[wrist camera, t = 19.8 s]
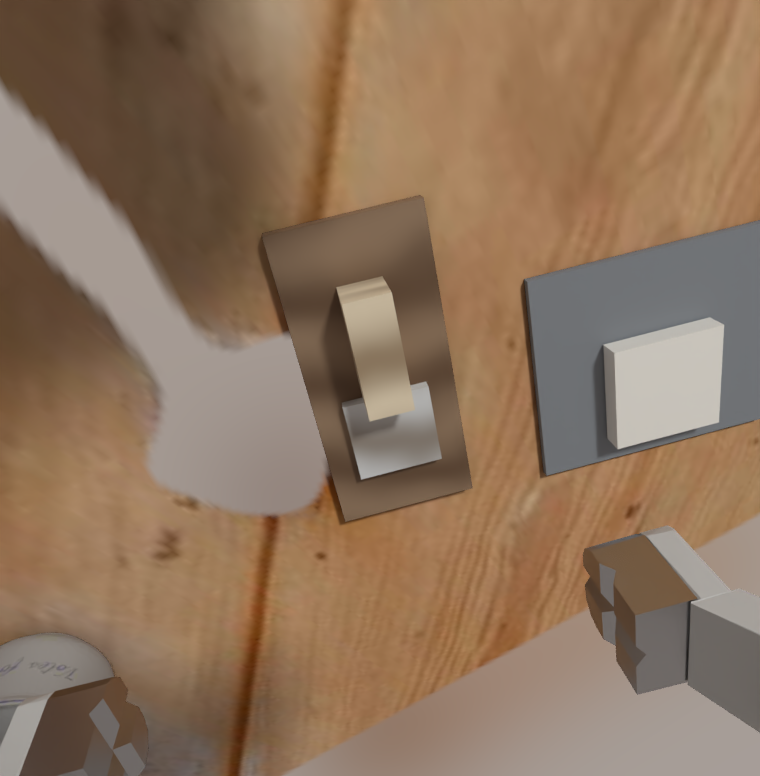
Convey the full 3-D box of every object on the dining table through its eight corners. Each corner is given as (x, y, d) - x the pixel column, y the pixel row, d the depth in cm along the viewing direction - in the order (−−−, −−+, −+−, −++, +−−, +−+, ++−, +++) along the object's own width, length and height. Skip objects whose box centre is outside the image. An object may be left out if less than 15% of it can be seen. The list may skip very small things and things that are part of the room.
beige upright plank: (312, 293, 39) (316, 310, 36) (405, 270, 39) (416, 286, 36) (359, 473, 45) (366, 501, 42) (439, 452, 46) (451, 479, 42)
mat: (524, 279, 42) (527, 281, 41) (774, 216, 43) (781, 217, 42) (543, 471, 49) (546, 475, 48) (757, 414, 50) (763, 417, 49)
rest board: (262, 233, 38) (261, 236, 37) (420, 195, 38) (423, 197, 37) (344, 513, 48) (345, 521, 47) (468, 480, 48) (472, 488, 47)
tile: (614, 353, 43) (617, 449, 46) (724, 324, 43) (719, 422, 47) (602, 343, 44) (606, 437, 48) (708, 316, 44) (704, 411, 48)
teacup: (97, 597, 48) (65, 686, 41) (147, 689, 53) (127, 783, 45) (-86, 643, 47) (-151, 742, 40) (-18, 732, 52) (-65, 835, 45)
